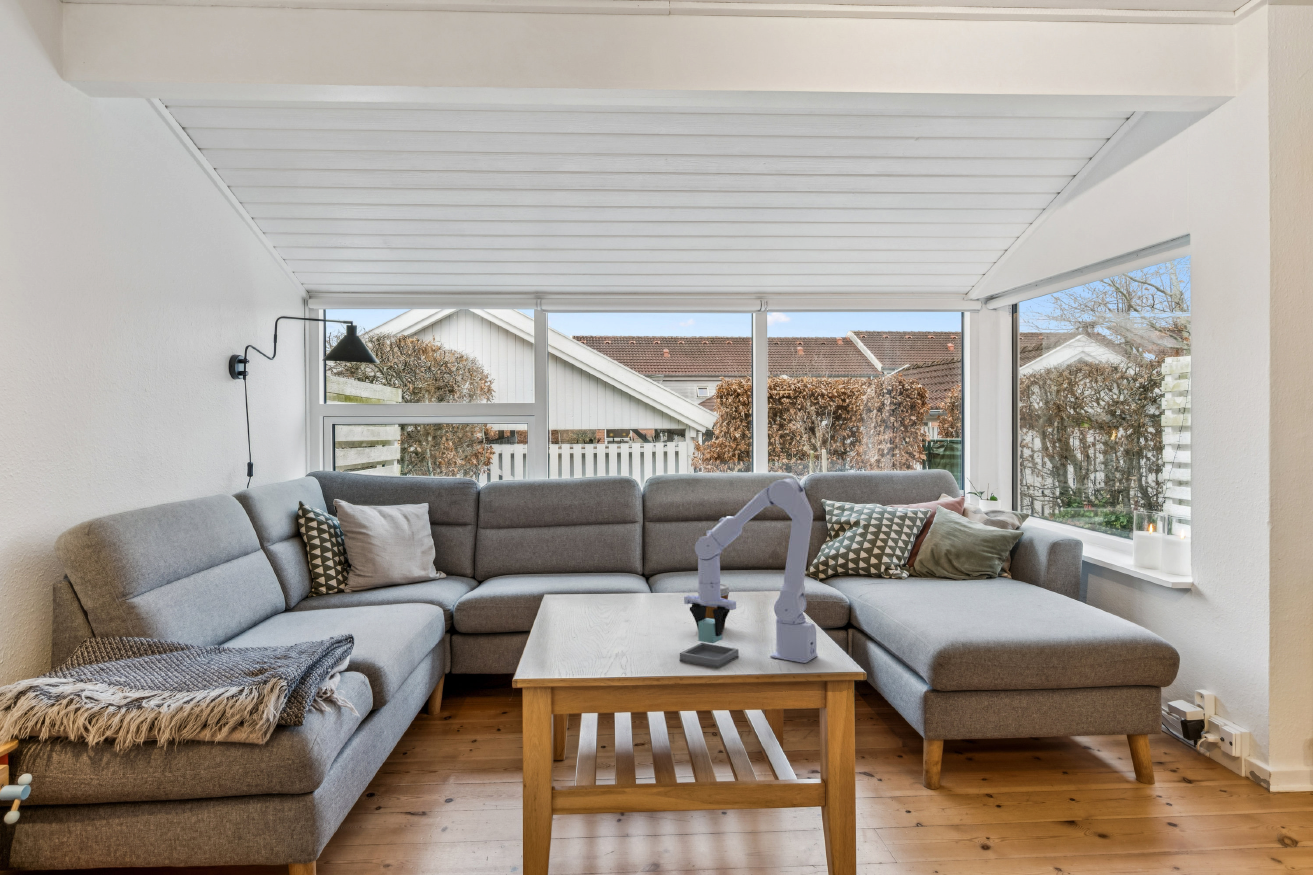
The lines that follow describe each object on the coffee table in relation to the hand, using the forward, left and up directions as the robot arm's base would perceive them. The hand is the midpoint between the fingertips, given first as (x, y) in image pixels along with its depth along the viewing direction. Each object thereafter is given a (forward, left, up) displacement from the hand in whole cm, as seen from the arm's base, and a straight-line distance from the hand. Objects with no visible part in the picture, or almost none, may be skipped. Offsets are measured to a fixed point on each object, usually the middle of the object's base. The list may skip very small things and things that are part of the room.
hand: (710, 634), depth 187 cm
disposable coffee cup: (+9, -18, -4) cm, 21 cm away
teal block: (0, 0, -2) cm, 2 cm away
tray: (-5, +9, -3) cm, 11 cm away
